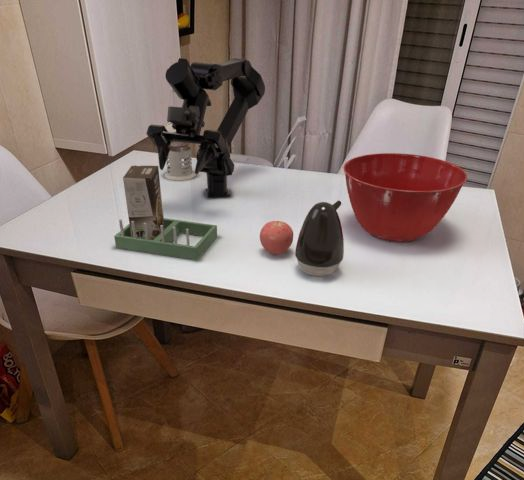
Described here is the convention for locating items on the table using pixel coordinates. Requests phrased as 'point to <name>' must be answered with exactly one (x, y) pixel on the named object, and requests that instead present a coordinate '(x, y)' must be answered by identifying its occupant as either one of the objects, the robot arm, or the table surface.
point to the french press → (178, 158)
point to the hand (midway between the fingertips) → (178, 171)
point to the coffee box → (144, 200)
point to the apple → (276, 237)
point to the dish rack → (168, 239)
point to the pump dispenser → (320, 240)
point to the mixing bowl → (401, 193)
